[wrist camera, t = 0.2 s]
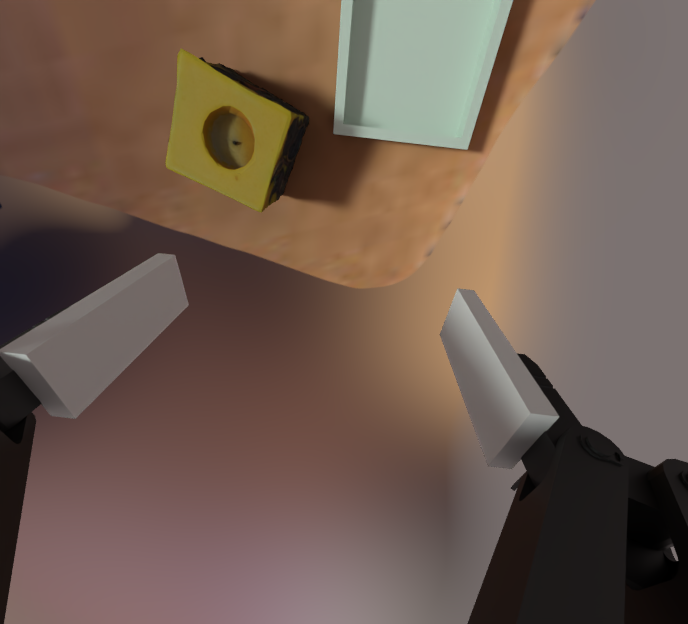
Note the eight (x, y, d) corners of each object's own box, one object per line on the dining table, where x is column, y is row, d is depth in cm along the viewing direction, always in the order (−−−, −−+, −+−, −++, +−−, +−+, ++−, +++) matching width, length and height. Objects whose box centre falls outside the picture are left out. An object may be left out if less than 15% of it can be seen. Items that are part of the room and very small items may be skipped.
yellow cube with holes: (209, 159, 35) (161, 168, 27) (226, 65, 30) (173, 40, 21) (283, 197, 37) (260, 217, 29) (311, 116, 32) (293, 112, 23)
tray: (349, -68, 24) (347, -91, 21) (516, -48, 24) (534, -69, 22) (335, 133, 32) (333, 134, 30) (459, 148, 32) (467, 149, 30)
